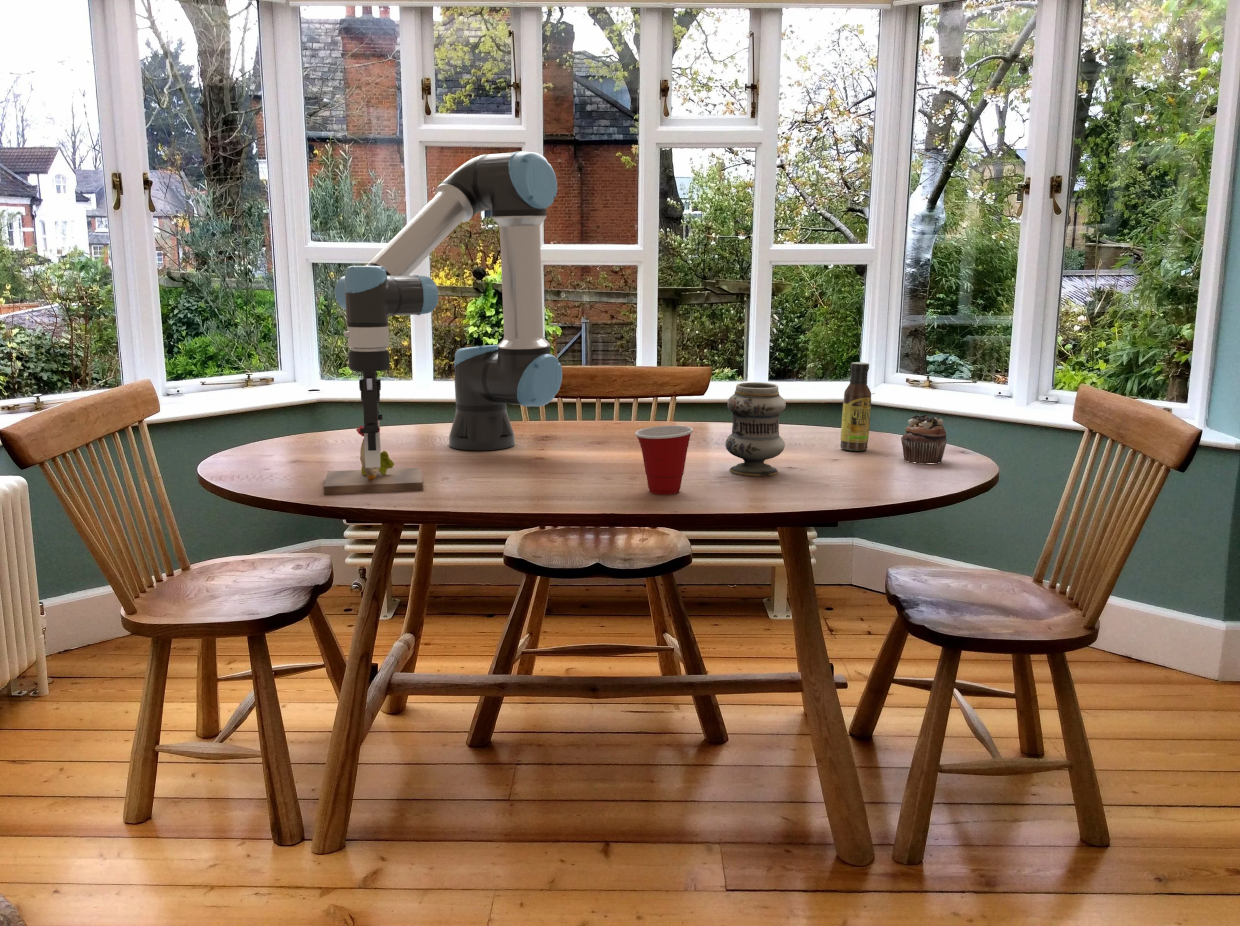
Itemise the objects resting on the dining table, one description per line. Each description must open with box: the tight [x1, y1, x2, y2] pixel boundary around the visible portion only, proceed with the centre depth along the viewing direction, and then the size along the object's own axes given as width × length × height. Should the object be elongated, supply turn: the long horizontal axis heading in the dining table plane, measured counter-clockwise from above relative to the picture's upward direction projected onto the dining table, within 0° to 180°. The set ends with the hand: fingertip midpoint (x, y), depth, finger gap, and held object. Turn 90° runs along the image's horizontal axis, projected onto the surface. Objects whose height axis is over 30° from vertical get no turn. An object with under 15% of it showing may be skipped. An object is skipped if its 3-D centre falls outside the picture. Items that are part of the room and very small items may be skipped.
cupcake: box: [900, 414, 948, 464], centre depth 225 cm, size 10×10×10 cm
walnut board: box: [323, 467, 424, 495], centre depth 200 cm, size 18×14×2 cm
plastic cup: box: [634, 425, 693, 496], centre depth 194 cm, size 11×11×12 cm
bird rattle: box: [356, 421, 395, 480], centre depth 199 cm, size 6×11×9 cm
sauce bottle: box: [840, 361, 872, 452], centre depth 236 cm, size 6×6×20 cm
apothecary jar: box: [724, 381, 787, 477], centre depth 212 cm, size 12×12×18 cm
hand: (373, 460), depth 199 cm, fingers open, 13 cm apart
